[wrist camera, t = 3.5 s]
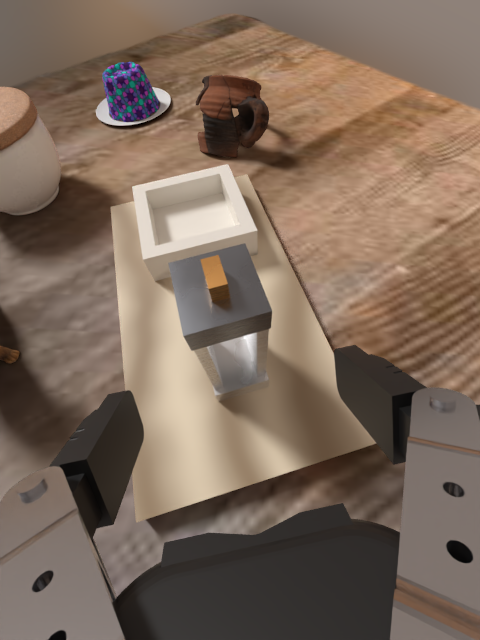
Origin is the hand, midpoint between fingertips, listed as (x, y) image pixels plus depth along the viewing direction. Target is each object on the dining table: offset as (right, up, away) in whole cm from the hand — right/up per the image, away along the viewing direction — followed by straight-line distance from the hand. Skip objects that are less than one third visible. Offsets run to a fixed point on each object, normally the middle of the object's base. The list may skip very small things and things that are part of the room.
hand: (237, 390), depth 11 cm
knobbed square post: (0, -1, +11) cm, 11 cm away
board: (-3, +4, +15) cm, 16 cm away
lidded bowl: (-27, +18, +25) cm, 41 cm away
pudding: (-17, +37, +34) cm, 53 cm away
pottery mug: (0, +27, +28) cm, 39 cm away
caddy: (-4, +12, +18) cm, 22 cm away
